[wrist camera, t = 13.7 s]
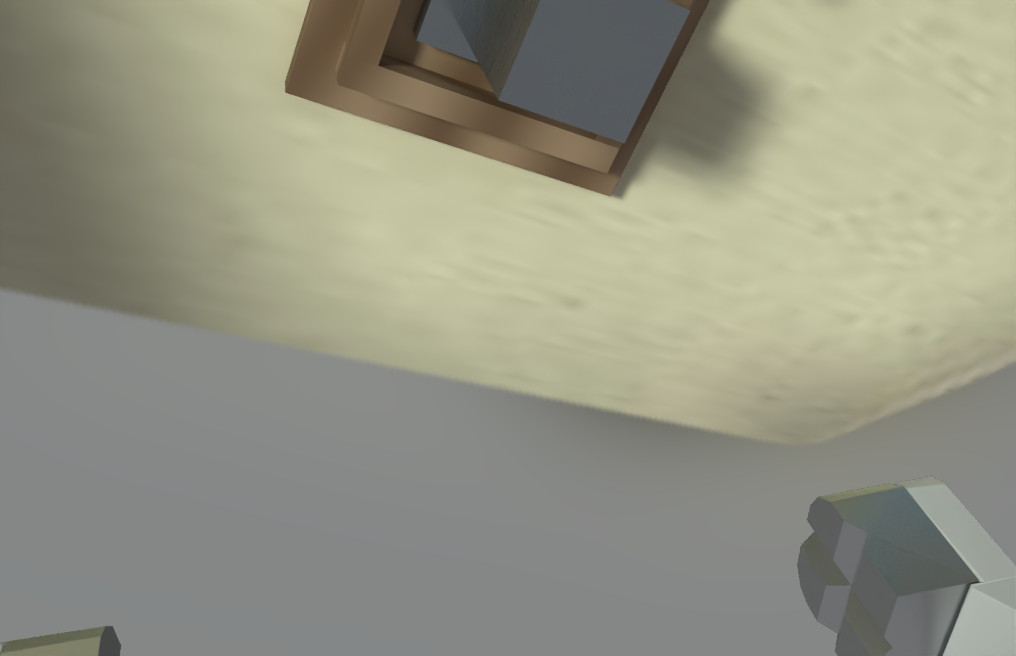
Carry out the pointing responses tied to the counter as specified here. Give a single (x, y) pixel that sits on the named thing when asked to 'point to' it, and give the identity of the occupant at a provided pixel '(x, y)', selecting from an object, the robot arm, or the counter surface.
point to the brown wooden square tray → (450, 91)
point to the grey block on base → (562, 53)
